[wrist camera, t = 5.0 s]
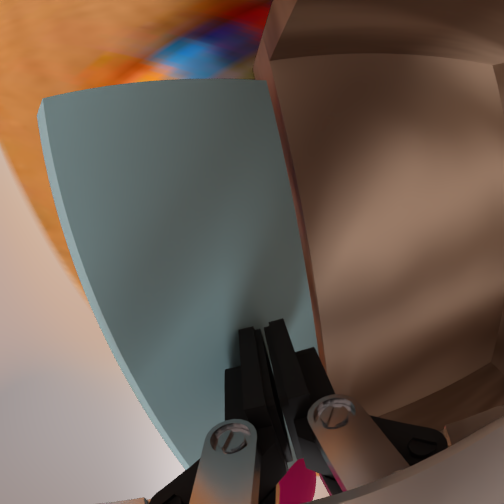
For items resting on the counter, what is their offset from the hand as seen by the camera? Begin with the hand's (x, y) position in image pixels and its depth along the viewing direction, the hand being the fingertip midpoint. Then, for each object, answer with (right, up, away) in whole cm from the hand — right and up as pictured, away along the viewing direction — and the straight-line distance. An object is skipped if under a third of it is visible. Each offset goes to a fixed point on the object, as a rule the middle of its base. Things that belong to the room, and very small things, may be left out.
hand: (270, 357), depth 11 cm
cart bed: (+9, +5, +7) cm, 12 cm away
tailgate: (+2, +2, +2) cm, 4 cm away
